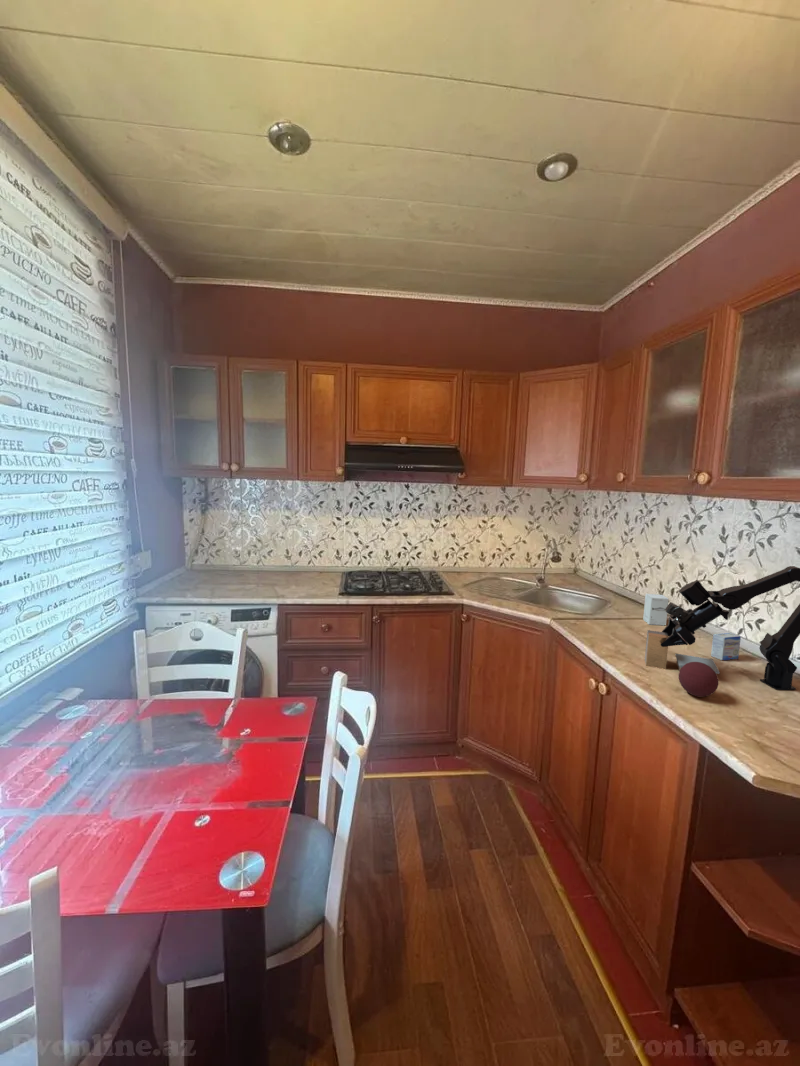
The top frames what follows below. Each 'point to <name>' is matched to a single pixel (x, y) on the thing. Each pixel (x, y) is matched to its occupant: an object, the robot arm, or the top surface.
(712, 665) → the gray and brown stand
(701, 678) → the decorative ball
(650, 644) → the two-tone metal block
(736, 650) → the medicine box
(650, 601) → the supplement box
